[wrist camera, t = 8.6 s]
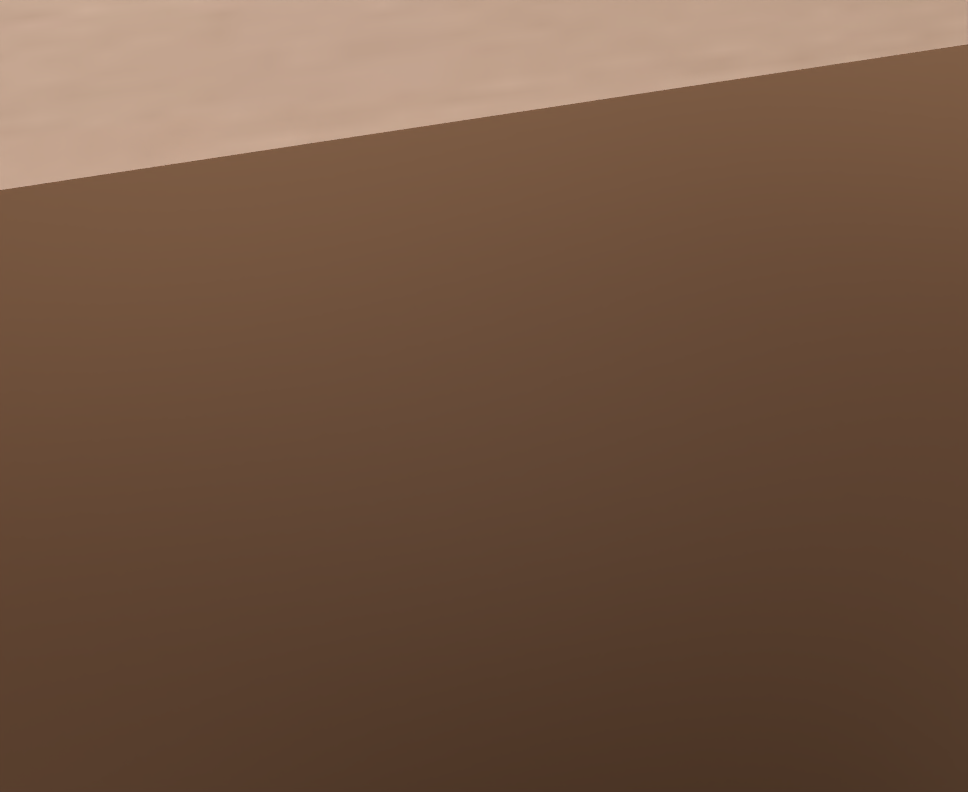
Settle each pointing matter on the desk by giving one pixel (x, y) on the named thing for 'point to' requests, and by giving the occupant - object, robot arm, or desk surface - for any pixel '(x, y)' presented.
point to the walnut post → (501, 453)
